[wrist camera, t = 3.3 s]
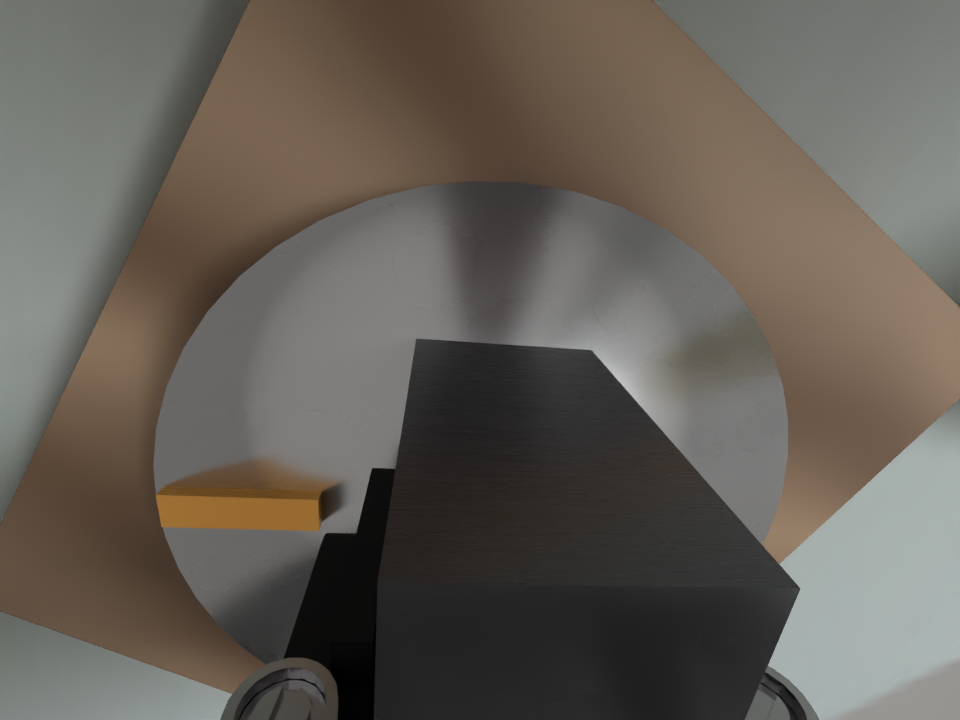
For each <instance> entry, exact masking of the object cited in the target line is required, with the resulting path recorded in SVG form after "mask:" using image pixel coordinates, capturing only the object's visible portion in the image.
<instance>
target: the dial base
mask: <svg viewBox="0 0 960 720" xmlns="http://www.w3.org/2000/svg"><path fill="white" fill-rule="evenodd" d="M464 181H488V182H519V183H529V184H535V185H540V186H546V187H552V188H557V189H563V190H569V191H575V192H578V193H581V194H584V195H587V196H590V197H593V198H596V199H599V200H602V201H605V202H608V203H611V204H614V205H617V206H621V207H623V208H625V209H627V210H629V211H631V212H633V213H635V214H637V215H639V216H641V217H643V218H645V219H647V220H649V221H651V222H653V223H655V224H657V225H659V226H661V227H663V228H664V229H666V230H667V231H669V232H670V233H671V234H673V235H674V236H676V237H677V238H678V239H680V240H681V241H683V242H684V243H685V244H687V245H688V246H690V247H691V248H692V249H694V250H695V251H697V252H698V253H699V254H701V255H702V256H703V257H704V258H705V259H706V260H707V261H708V262H709V263H710V264H711V265H712V266H713V267H714V268H715V269H716V270H717V271H718V272H719V273H720V274H721V275H722V276H723V277H724V278H725V279H726V280H727V281H728V282H729V283H730V284H731V285H732V287H733V288H734V289H735V291H736V292H737V293H738V295H739V296H740V297H741V299H742V300H743V302H744V303H745V304H746V306H747V307H748V308H749V310H750V311H751V312H752V314H753V315H754V317H755V319H756V321H757V323H758V325H759V326H760V328H761V330H762V332H763V334H764V336H765V338H766V340H767V342H768V344H769V346H770V348H771V350H772V353H773V356H774V359H775V362H776V365H777V369H778V372H779V375H780V378H781V381H782V384H783V390H784V396H785V403H786V409H787V416H788V458H787V465H786V472H785V478H784V485H783V490H782V493H781V496H780V500H779V503H778V506H777V510H776V513H775V516H774V520H773V522H772V524H771V527H770V529H769V531H768V533H767V535H766V538H765V540H764V542H763V544H762V545H763V547H764V548H765V549H766V550H767V551H768V552H769V553H770V555H771V556H772V557H773V558H774V559H775V560H776V561H777V563H778V564H780V563H781V562H782V561H783V560H784V559H785V558H786V557H787V556H788V555H790V554H791V553H792V552H793V551H794V550H795V549H796V548H797V547H798V546H799V545H800V544H802V543H803V542H804V541H805V540H806V539H807V538H808V537H809V536H810V535H811V534H812V533H814V532H815V531H816V530H817V529H818V528H819V527H820V526H821V525H822V524H823V523H824V522H826V521H827V520H828V519H829V518H830V517H831V516H832V515H833V514H834V513H835V512H836V511H838V510H839V509H840V508H841V507H842V506H843V505H844V504H845V503H846V502H847V501H848V500H850V499H851V498H852V497H853V496H854V495H855V494H856V493H857V492H858V491H859V490H860V489H862V488H863V487H864V486H865V485H866V484H867V483H868V482H869V481H870V480H871V479H872V478H874V477H875V476H876V475H877V474H878V473H879V472H880V471H881V470H882V469H883V468H884V467H886V466H887V465H888V464H889V463H890V462H891V461H892V460H893V459H894V458H895V457H896V456H898V455H899V454H900V453H901V452H902V451H903V450H904V449H905V448H906V447H907V446H908V445H910V444H911V443H912V442H913V441H914V440H915V439H916V438H917V437H918V436H919V435H920V434H922V433H923V432H924V431H925V430H926V429H927V428H928V427H929V426H930V425H931V424H932V423H934V422H935V421H936V420H937V419H938V418H939V417H940V416H941V415H942V414H943V413H944V412H946V411H947V410H948V409H949V408H950V407H951V406H952V405H953V404H954V403H955V402H956V401H958V400H959V399H960V307H959V306H958V305H957V304H956V303H955V302H954V301H953V300H952V299H951V298H950V297H949V296H948V295H947V294H946V293H945V292H944V291H943V290H942V289H941V288H940V287H939V286H938V285H937V284H936V283H935V282H934V281H933V280H932V279H931V278H930V277H929V276H928V275H927V274H926V273H925V272H924V271H923V270H922V269H921V268H920V267H919V266H918V265H917V264H916V263H915V262H914V261H913V260H912V259H911V258H910V257H909V256H908V255H907V254H906V253H905V252H904V251H903V250H902V249H901V248H900V247H899V246H898V245H897V244H896V243H895V242H894V241H893V240H892V239H891V238H890V237H889V236H888V235H887V234H886V233H885V232H884V231H883V230H882V229H881V228H880V227H879V226H878V225H877V224H876V223H875V222H874V221H873V220H872V219H871V218H870V217H869V216H868V215H867V214H866V213H865V212H864V211H863V210H862V209H861V208H860V207H859V206H858V205H857V204H856V203H855V202H854V201H853V200H852V199H851V198H850V197H849V196H848V195H847V194H846V193H845V192H844V191H843V190H842V189H841V188H840V187H839V186H838V185H837V184H836V183H835V182H834V181H833V180H832V179H831V178H830V177H829V176H828V175H827V174H826V173H825V172H824V171H823V170H822V169H821V168H820V167H819V166H818V165H817V164H816V163H815V162H814V161H813V160H812V159H811V158H810V157H809V156H808V155H807V154H806V153H805V152H804V151H803V150H802V149H801V148H800V147H799V146H798V145H797V144H796V143H795V142H794V141H793V140H792V139H791V138H790V137H789V136H788V135H787V134H786V133H785V132H784V131H783V130H782V129H781V128H780V127H779V126H778V125H777V124H776V123H775V122H774V121H773V120H772V119H771V118H770V117H769V116H768V115H767V114H766V113H765V112H764V111H763V110H762V109H761V108H760V107H759V106H758V105H757V104H756V103H755V102H754V101H753V100H752V99H751V98H750V97H748V96H747V95H746V94H745V93H744V92H743V91H742V90H741V89H740V88H739V87H738V86H737V85H736V84H735V83H734V82H733V81H732V80H731V79H730V78H729V77H728V76H727V75H726V74H725V73H724V72H723V71H722V70H721V69H720V68H719V67H718V66H717V65H716V64H715V63H714V62H713V61H712V60H711V59H710V58H709V57H708V56H707V55H706V54H705V53H704V52H703V51H702V50H701V49H700V48H699V47H698V46H697V45H696V44H695V43H694V42H693V41H692V40H691V39H690V38H689V37H688V36H687V35H686V34H685V33H684V32H683V31H682V30H681V29H680V28H679V27H678V26H677V25H676V24H675V23H674V22H673V21H672V20H671V19H670V18H669V17H668V16H667V15H666V14H665V13H664V12H663V11H662V10H661V9H660V8H659V7H658V6H657V5H656V4H655V3H654V2H653V1H652V0H250V1H249V3H248V6H247V8H246V10H245V12H244V14H243V16H242V18H241V20H240V22H239V24H238V27H237V29H236V31H235V33H234V35H233V37H232V39H231V41H230V43H229V45H228V48H227V50H226V52H225V54H224V56H223V58H222V60H221V62H220V64H219V66H218V69H217V71H216V73H215V75H214V77H213V79H212V81H211V83H210V85H209V88H208V90H207V92H206V94H205V96H204V98H203V100H202V102H201V104H200V106H199V109H198V111H197V113H196V115H195V117H194V119H193V121H192V123H191V125H190V127H189V130H188V132H187V134H186V136H185V138H184V140H183V142H182V144H181V146H180V148H179V151H178V153H177V155H176V157H175V159H174V161H173V163H172V165H171V167H170V169H169V172H168V174H167V176H166V178H165V180H164V182H163V184H162V186H161V188H160V190H159V193H158V195H157V197H156V199H155V201H154V203H153V205H152V207H151V209H150V212H149V214H148V216H147V218H146V220H145V222H144V224H143V226H142V228H141V230H140V233H139V235H138V237H137V239H136V241H135V243H134V245H133V247H132V249H131V251H130V254H129V256H128V258H127V260H126V262H125V264H124V266H123V268H122V270H121V272H120V275H119V277H118V279H117V281H116V283H115V285H114V287H113V289H112V291H111V293H110V296H109V298H108V300H107V302H106V304H105V306H104V308H103V310H102V312H101V315H100V317H99V319H98V321H97V323H96V325H95V327H94V329H93V331H92V333H91V336H90V338H89V340H88V342H87V344H86V346H85V348H84V350H83V352H82V354H81V357H80V359H79V361H78V363H77V365H76V367H75V369H74V371H73V373H72V375H71V378H70V380H69V382H68V384H67V386H66V388H65V390H64V392H63V394H62V396H61V399H60V401H59V403H58V405H57V407H56V409H55V411H54V413H53V415H52V417H51V420H50V422H49V424H48V426H47V428H46V430H45V432H44V434H43V436H42V439H41V441H40V443H39V445H38V447H37V449H36V451H35V453H34V455H33V457H32V460H31V462H30V464H29V466H28V468H27V470H26V472H25V474H24V476H23V478H22V481H21V483H20V485H19V487H18V489H17V491H16V493H15V495H14V497H13V499H12V502H11V504H10V506H9V508H8V510H7V512H6V514H5V516H4V518H3V520H2V523H1V525H0V611H1V612H4V613H7V614H9V615H12V616H15V617H18V618H21V619H23V620H26V621H29V622H32V623H35V624H37V625H40V626H43V627H46V628H49V629H52V630H54V631H57V632H60V633H63V634H66V635H68V636H71V637H74V638H77V639H80V640H82V641H85V642H88V643H91V644H94V645H97V646H99V647H102V648H105V649H108V650H111V651H113V652H116V653H119V654H122V655H125V656H127V657H130V658H133V659H136V660H139V661H142V662H144V663H147V664H150V665H153V666H156V667H158V668H161V669H164V670H167V671H170V672H172V673H175V674H178V675H181V676H184V677H187V678H189V679H192V680H195V681H198V682H201V683H203V684H206V685H209V686H212V687H215V688H217V689H220V690H223V691H226V692H229V693H232V694H233V693H234V692H235V690H236V689H237V688H238V686H239V685H240V684H241V683H242V682H243V681H244V680H245V679H247V678H248V677H249V676H250V675H251V674H252V673H254V672H255V671H256V670H258V669H260V668H262V667H264V666H266V664H264V663H263V662H261V661H260V660H259V659H257V658H256V657H255V656H253V655H252V654H251V653H249V652H248V651H246V650H245V649H244V648H243V647H241V646H240V645H239V644H238V643H237V642H236V641H235V640H234V639H233V638H232V637H231V636H230V635H229V634H228V633H227V632H225V631H224V630H223V629H222V628H221V627H220V626H219V625H218V624H217V622H216V621H215V620H214V619H213V618H212V616H211V615H210V614H209V613H208V612H207V610H206V609H205V608H204V607H203V605H202V604H201V603H200V602H199V601H198V599H197V598H196V596H195V595H194V593H193V591H192V590H191V588H190V586H189V585H188V583H187V582H186V580H185V578H184V577H183V575H182V573H181V572H180V570H179V568H178V566H177V563H176V561H175V559H174V556H173V554H172V552H171V549H170V547H169V545H168V542H167V540H166V538H165V534H164V530H163V527H161V522H160V516H159V510H158V506H157V502H156V491H155V479H154V467H153V462H154V450H155V438H156V426H157V422H158V418H159V414H160V410H161V407H162V403H163V399H164V395H165V391H166V387H167V385H168V382H169V380H170V378H171V376H172V373H173V371H174V369H175V367H176V364H177V362H178V360H179V358H180V355H181V353H182V351H183V348H184V347H185V345H186V344H187V342H188V341H189V339H190V338H191V336H192V335H193V333H194V332H195V330H196V329H197V327H198V325H199V324H200V322H201V321H202V319H203V318H204V316H205V315H206V313H207V312H208V310H209V309H210V308H211V307H212V306H213V305H214V304H215V303H216V302H217V300H218V299H219V298H220V297H221V296H222V295H223V294H224V293H225V292H226V291H227V289H228V288H229V287H230V286H231V285H232V284H233V283H234V282H235V281H236V279H237V278H238V277H239V276H240V275H242V274H243V273H244V272H245V271H247V270H248V269H249V268H250V267H251V266H253V265H254V264H255V263H256V262H258V261H259V260H260V259H261V258H263V257H264V256H265V255H266V254H267V253H269V252H270V251H271V250H272V249H274V248H275V247H276V246H277V245H279V244H281V243H282V242H284V241H286V240H287V239H289V238H291V237H293V236H294V235H296V234H298V233H299V232H301V231H303V230H304V229H306V228H308V227H309V226H311V225H313V224H315V223H316V222H318V221H320V220H321V219H324V218H326V217H329V216H331V215H334V214H336V213H339V212H341V211H343V210H346V209H348V208H351V207H353V206H356V205H358V204H360V203H363V202H365V201H368V200H371V199H374V198H377V197H381V196H385V195H389V194H393V193H397V192H401V191H405V190H409V189H413V188H417V187H421V186H428V185H437V184H446V183H455V182H464Z"/></svg>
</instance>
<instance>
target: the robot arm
mask: <svg viewBox="0 0 960 720" xmlns="http://www.w3.org/2000/svg"><path fill="white" fill-rule="evenodd" d="M394 475H395V469H388V468H372V470H371V474H370V478H369V482H368V486H367V491H366V495H365V499H364V503H363V507H362V511H361V516H360V520H359V524H358V528H357V532H356V534H354V533H326V534H325V535H324V538H323V540H322V543H321V546H320V549H319V552H318V555H317V558H316V561H315V564H314V567H313V570H312V573H311V576H310V579H309V582H308V585H307V589H306V592H305V595H304V598H303V601H302V604H301V607H300V610H299V613H298V616H297V619H296V622H295V625H294V628H293V631H292V634H291V637H290V640H289V643H288V646H287V649H286V652H285V655H284V658H283V659H282V660H278V661H275V662H271V663H270V664H268V665H266V666H264V667H262V668H260V669H258V670H256V671H255V672H254V673H252V674H251V675H250V676H249V677H248V678H247V679H245V680H244V681H243V682H242V683H241V684H240V685H239V686H238V688H237V689H236V690H235V692H234V693H233V694H232V696H231V697H230V698H229V700H228V702H227V704H226V707H225V709H224V712H223V714H222V716H221V719H220V720H374V696H375V658H376V620H377V583H378V576H379V570H380V564H381V557H382V551H383V545H384V539H385V532H386V526H387V520H388V513H389V507H390V501H391V494H392V488H393V482H394ZM745 720H819V718H818V716H817V714H816V713H815V711H814V709H813V708H812V706H811V705H810V703H809V702H808V701H807V699H806V698H805V696H804V695H803V694H802V693H801V692H800V691H799V690H798V689H797V688H796V687H795V686H794V685H793V684H792V683H791V682H790V681H789V680H788V679H787V678H785V677H784V676H783V675H781V674H780V673H778V672H777V671H776V670H774V669H773V668H771V667H769V666H767V668H766V671H765V673H764V675H763V678H762V680H761V682H760V685H759V687H758V690H757V692H756V694H755V697H754V699H753V701H752V704H751V706H750V708H749V711H748V713H747V715H746V718H745Z"/></svg>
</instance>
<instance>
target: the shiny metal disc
mask: <svg viewBox="0 0 960 720" xmlns="http://www.w3.org/2000/svg"><path fill="white" fill-rule="evenodd" d="M787 458H788V416H787V409H786V403H785V396H784V390H783V384H782V381H781V378H780V375H779V372H778V369H777V365H776V362H775V359H774V356H773V353H772V350H771V348H770V346H769V344H768V342H767V340H766V338H765V336H764V334H763V332H762V330H761V328H760V326H759V325H758V323H757V321H756V319H755V317H754V315H753V314H752V312H751V311H750V310H749V308H748V307H747V306H746V304H745V303H744V302H743V300H742V299H741V297H740V296H739V295H738V293H737V292H736V291H735V289H734V288H733V287H732V285H731V284H730V283H729V282H728V281H727V280H726V279H725V278H724V277H723V276H722V275H721V274H720V273H719V272H718V271H717V270H716V269H715V268H714V267H713V266H712V265H711V264H710V263H709V262H708V261H707V260H706V259H705V258H704V257H703V256H702V255H701V254H699V253H698V252H697V251H695V250H694V249H692V248H691V247H690V246H688V245H687V244H685V243H684V242H683V241H681V240H680V239H678V238H677V237H676V236H674V235H673V234H671V233H670V232H669V231H667V230H666V229H664V228H663V227H661V226H659V225H657V224H655V223H653V222H651V221H649V220H647V219H645V218H643V217H641V216H639V215H637V214H635V213H633V212H631V211H629V210H627V209H625V208H623V207H621V206H617V205H614V204H611V203H608V202H605V201H602V200H599V199H596V198H593V197H590V196H587V195H584V194H581V193H578V192H575V191H569V190H563V189H557V188H552V187H546V186H540V185H535V184H529V183H519V182H488V181H464V182H455V183H446V184H437V185H428V186H421V187H417V188H413V189H409V190H405V191H401V192H397V193H393V194H389V195H385V196H381V197H377V198H374V199H371V200H368V201H365V202H363V203H360V204H358V205H356V206H353V207H351V208H348V209H346V210H343V211H341V212H339V213H336V214H334V215H331V216H329V217H326V218H324V219H321V220H320V221H318V222H316V223H315V224H313V225H311V226H309V227H308V228H306V229H304V230H303V231H301V232H299V233H298V234H296V235H294V236H293V237H291V238H289V239H287V240H286V241H284V242H282V243H281V244H279V245H277V246H276V247H275V248H274V249H272V250H271V251H270V252H269V253H267V254H266V255H265V256H264V257H263V258H261V259H260V260H259V261H258V262H256V263H255V264H254V265H253V266H251V267H250V268H249V269H248V270H247V271H245V272H244V273H243V274H242V275H240V276H239V277H238V278H237V279H236V281H235V282H234V283H233V284H232V285H231V286H230V287H229V288H228V289H227V291H226V292H225V293H224V294H223V295H222V296H221V297H220V298H219V299H218V300H217V302H216V303H215V304H214V305H213V306H212V307H211V308H210V309H209V310H208V312H207V313H206V315H205V316H204V318H203V319H202V321H201V322H200V324H199V325H198V327H197V329H196V330H195V332H194V333H193V335H192V336H191V338H190V339H189V341H188V342H187V344H186V345H185V347H184V348H183V351H182V353H181V355H180V358H179V360H178V362H177V364H176V367H175V369H174V371H173V373H172V376H171V378H170V380H169V382H168V385H167V387H166V391H165V395H164V399H163V403H162V407H161V410H160V414H159V418H158V422H157V426H156V438H155V450H154V462H153V467H154V479H155V491H156V502H157V506H158V510H159V516H160V522H161V527H163V530H164V534H165V538H166V540H167V542H168V545H169V547H170V549H171V552H172V554H173V556H174V559H175V561H176V563H177V566H178V568H179V570H180V572H181V573H182V575H183V577H184V578H185V580H186V582H187V583H188V585H189V586H190V588H191V590H192V591H193V593H194V595H195V596H196V598H197V599H198V601H199V602H200V603H201V604H202V605H203V607H204V608H205V609H206V610H207V612H208V613H209V614H210V615H211V616H212V618H213V619H214V620H215V621H216V622H217V624H218V625H219V626H220V627H221V628H222V629H223V630H224V631H225V632H227V633H228V634H229V635H230V636H231V637H232V638H233V639H234V640H235V641H236V642H237V643H238V644H239V645H240V646H241V647H243V648H244V649H245V650H246V651H248V652H249V653H251V654H252V655H253V656H255V657H256V658H257V659H259V660H260V661H261V662H263V663H264V664H266V665H268V664H270V663H271V662H275V661H278V660H282V659H283V658H284V655H285V652H286V649H287V646H288V643H289V640H290V637H291V634H292V631H293V628H294V625H295V622H296V619H297V616H298V613H299V610H300V607H301V604H302V601H303V598H304V595H305V592H306V589H307V585H308V582H309V579H310V576H311V573H312V570H313V567H314V564H315V561H316V558H317V555H318V552H319V549H320V546H321V543H322V540H323V538H324V535H325V534H326V533H354V534H356V532H357V528H358V524H359V520H360V516H361V511H362V507H363V503H364V499H365V495H366V491H367V486H368V482H369V478H370V474H371V470H372V468H388V469H395V475H394V482H393V488H392V494H391V501H390V507H389V513H388V520H387V526H386V532H385V539H384V545H383V551H382V557H381V564H380V570H379V576H378V583H377V620H376V658H375V696H374V720H745V718H746V715H747V713H748V711H749V708H750V706H751V704H752V701H753V699H754V697H755V694H756V692H757V690H758V687H759V685H760V682H761V680H762V678H763V675H764V673H765V671H766V668H767V666H768V664H769V661H770V659H771V657H772V654H773V652H774V649H775V647H776V645H777V642H778V640H779V638H780V635H781V633H782V631H783V628H784V626H785V624H786V621H787V619H788V617H789V614H790V612H791V609H792V607H793V605H794V602H795V600H796V598H797V595H798V593H799V591H800V588H799V587H798V585H797V584H796V583H795V582H794V581H793V580H792V579H791V577H790V576H789V575H788V574H787V573H786V572H785V571H784V569H783V568H782V567H781V566H780V565H779V564H778V563H777V561H776V560H775V559H774V558H773V557H772V556H771V555H770V553H769V552H768V551H767V550H766V549H765V548H764V547H763V545H762V544H763V542H764V540H765V538H766V535H767V533H768V531H769V529H770V527H771V524H772V522H773V520H774V516H775V513H776V510H777V506H778V503H779V500H780V496H781V493H782V490H783V485H784V478H785V472H786V465H787Z"/></svg>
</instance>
